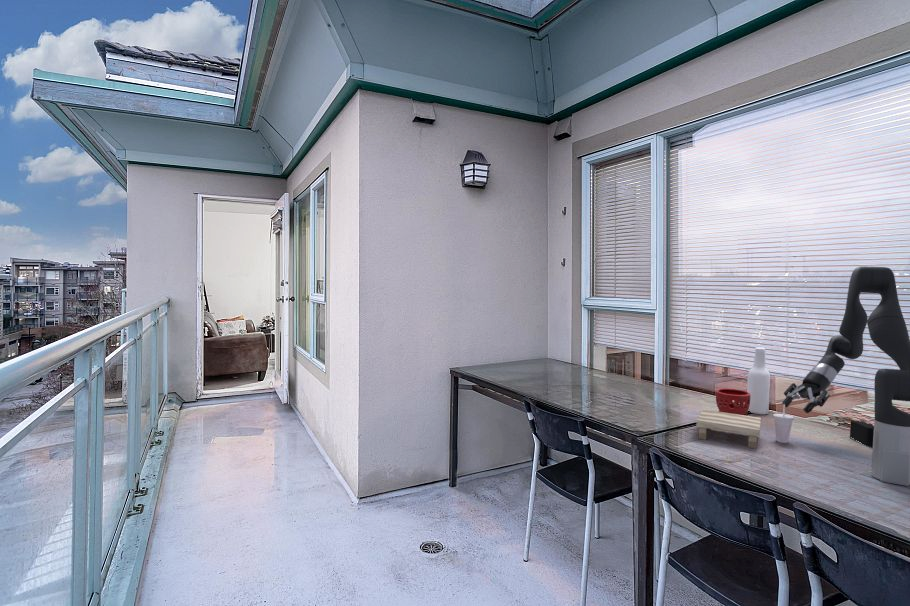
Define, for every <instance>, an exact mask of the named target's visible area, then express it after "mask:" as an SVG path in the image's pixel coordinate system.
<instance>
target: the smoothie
mask: <svg viewBox="0 0 910 606" xmlns="http://www.w3.org/2000/svg"><path fill="white" fill-rule="evenodd" d="M785 413H786V407H785V404H782V413H773V418H774V419H773V420H774V421H773V422H774V429H775V430H774V431H775V432H774V433H775V440H776V442H778V443H781V444H782V443H783V444H787V443H788V444H789V439H790V436H791V431H792V425H793V421H794V418H795V417H794V416H792V415H791V414H790V415H789V414H785Z"/></svg>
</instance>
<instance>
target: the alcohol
mask: <svg viewBox="0 0 910 606" xmlns="http://www.w3.org/2000/svg"><path fill="white" fill-rule="evenodd" d="M754 349H755V350H754V352H755V353H754V359H753V366H752V367H751V368H750V369H749V370H748V373H747V383H746V385H747V386H746V391H747V392H749V393H750V405H749V409H748V411H750V412H751V414H756V415H760V416H761V415H768V413H769V412H770V410H769V409H770V388H771V387H770V386H771V374H770V373H771V372H769V370H768V369H767V366H766V348H765V347H759V346H757V347H755V348H754ZM748 411H747V412H748ZM750 412H749V413H750Z"/></svg>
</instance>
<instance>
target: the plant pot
mask: <svg viewBox="0 0 910 606" xmlns="http://www.w3.org/2000/svg"><path fill="white" fill-rule="evenodd" d="M715 401H716V407H717V409H718V411H717V412H724V413H731V414H738V415H745V416H749V414H747V413H748V409H749V405H750V393H749V392H747V390H744V389H743V390H742V389H738V388H737V389H736V388H718V389H716V390H715Z"/></svg>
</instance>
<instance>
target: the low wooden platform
mask: <svg viewBox="0 0 910 606" xmlns="http://www.w3.org/2000/svg"><path fill="white" fill-rule="evenodd" d="M761 424H762V418H761V417H757V416H751V415H750V416H749V415H748V416H745V415H738V414H731V413H724V412H718V411H715V410H711V409H709V410H708V409H702V411H701V412H700V414H699V416H698V418H697V419H696V427H698V439H700V440H707V436H708V435H707V433H708V430H717V431H721V432H729V433H735V434H740V435H747V436H748V443H747V444H748V447H747V448H752V449H757V443H758V437H759V438H760V437H761V436H760V433H761V426H762V425H761Z"/></svg>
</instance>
